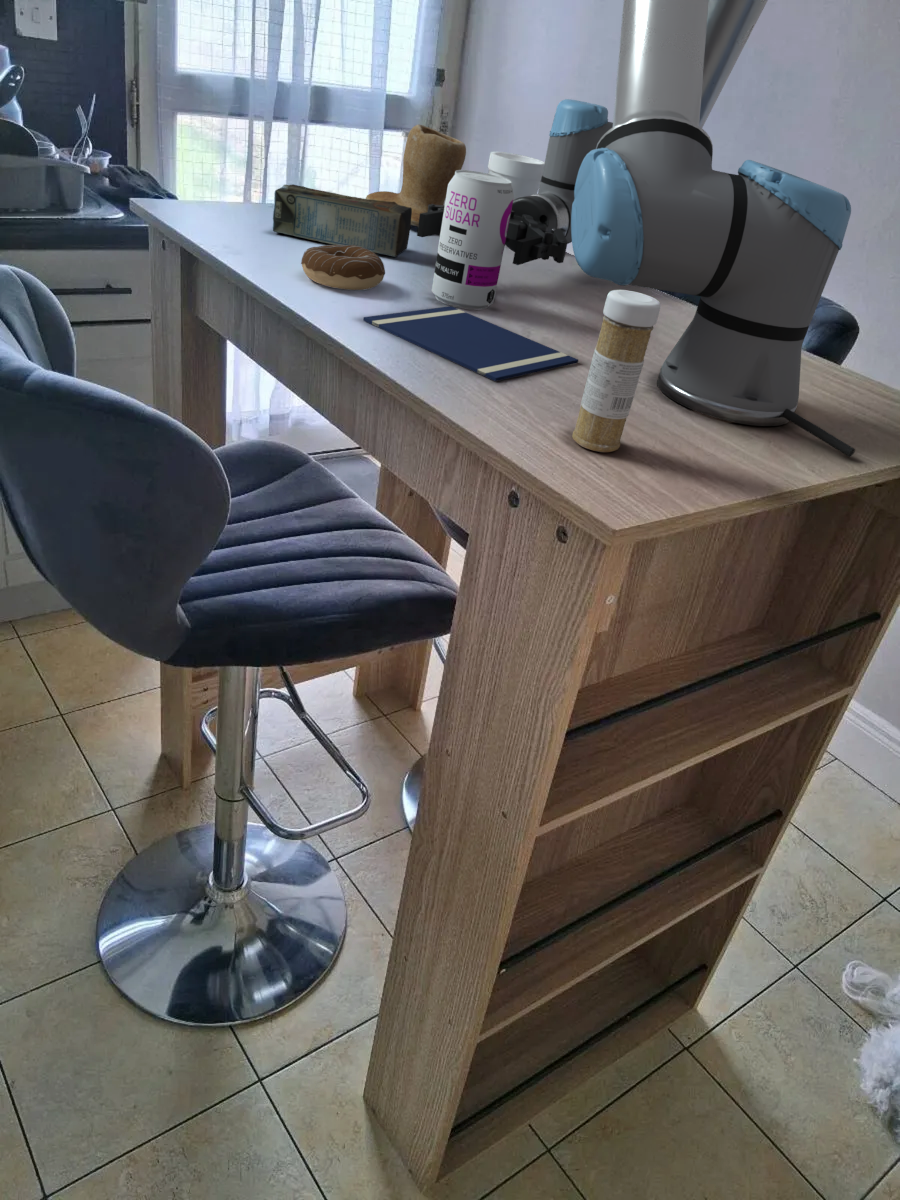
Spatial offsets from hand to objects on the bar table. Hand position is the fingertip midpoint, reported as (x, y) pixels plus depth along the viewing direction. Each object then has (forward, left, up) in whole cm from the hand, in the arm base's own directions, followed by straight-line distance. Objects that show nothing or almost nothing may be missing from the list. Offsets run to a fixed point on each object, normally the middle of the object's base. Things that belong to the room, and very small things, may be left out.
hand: (468, 238), depth 111 cm
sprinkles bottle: (-37, +22, -8) cm, 43 cm away
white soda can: (0, -1, -8) cm, 8 cm away
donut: (+11, +10, -8) cm, 17 cm away
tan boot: (+37, -30, -8) cm, 49 cm away
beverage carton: (+28, -5, -8) cm, 30 cm away
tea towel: (-12, +11, -8) cm, 18 cm away
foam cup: (+25, -40, -8) cm, 48 cm away
